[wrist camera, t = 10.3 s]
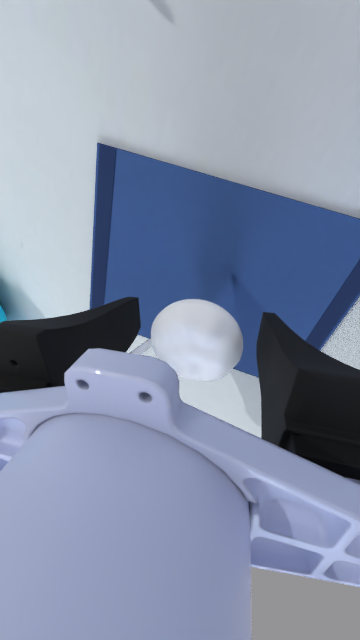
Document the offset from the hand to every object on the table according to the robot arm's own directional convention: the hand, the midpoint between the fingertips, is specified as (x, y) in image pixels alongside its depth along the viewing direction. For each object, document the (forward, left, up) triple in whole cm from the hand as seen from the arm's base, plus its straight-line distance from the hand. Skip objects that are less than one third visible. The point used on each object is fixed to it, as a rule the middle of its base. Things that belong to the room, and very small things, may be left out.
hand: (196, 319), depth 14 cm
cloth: (0, 0, -6) cm, 6 cm away
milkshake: (0, 0, -6) cm, 6 cm away
